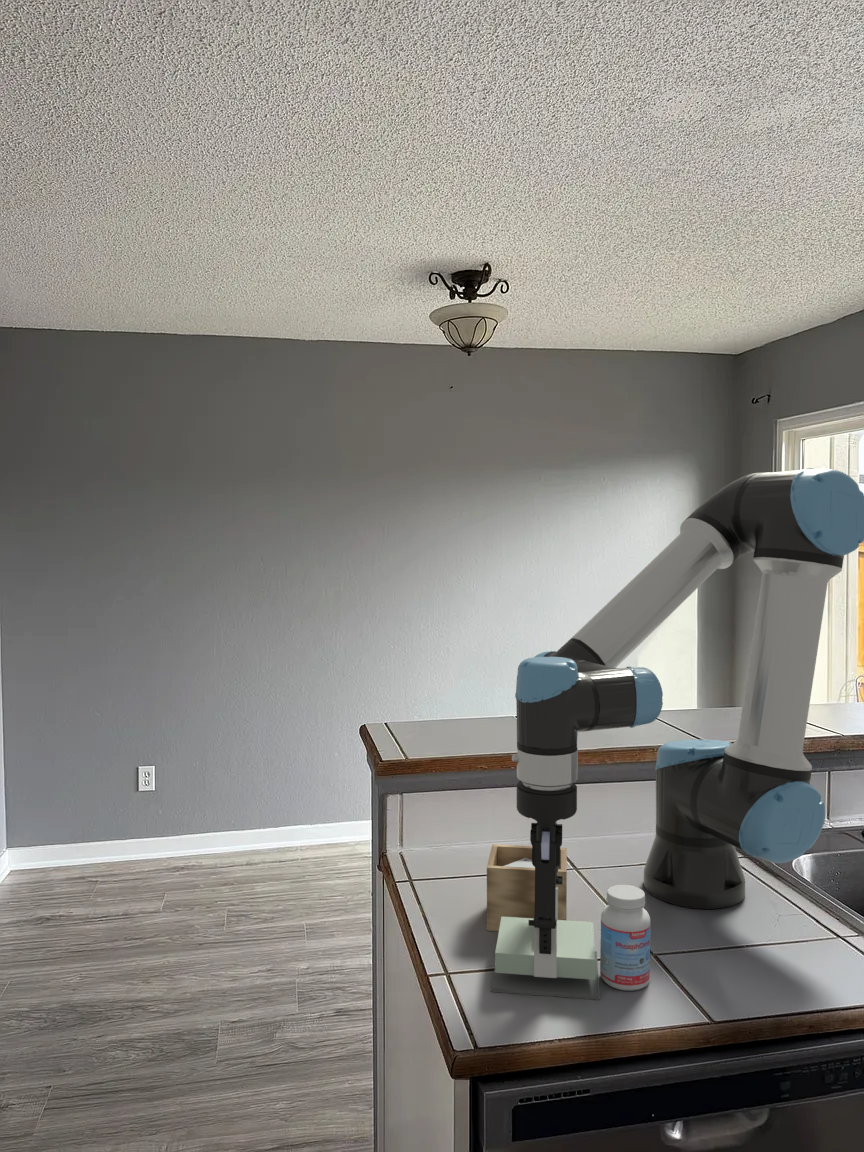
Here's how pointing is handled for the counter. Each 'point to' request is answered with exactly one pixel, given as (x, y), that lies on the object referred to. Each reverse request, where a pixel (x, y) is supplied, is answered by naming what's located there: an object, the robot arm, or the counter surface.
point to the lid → (571, 948)
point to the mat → (547, 985)
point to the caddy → (517, 885)
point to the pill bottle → (625, 939)
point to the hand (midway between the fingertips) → (546, 954)
